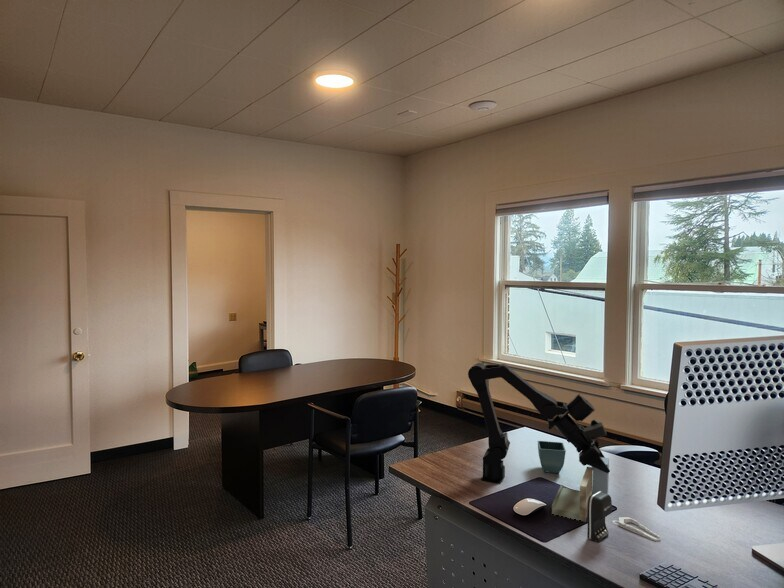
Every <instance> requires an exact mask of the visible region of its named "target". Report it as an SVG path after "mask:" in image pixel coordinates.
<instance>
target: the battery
mask: <svg viewBox="0 0 784 588" xmlns="http://www.w3.org/2000/svg"><path fill="white" fill-rule="evenodd" d="M612 505H613V504H612V497H611V495H610V494H609V493H608V494H606V493H603V492H601V491H597V492H595V493H593V492H592V495H590V496H589V498H588V515H587V539H589V540H592V541H595V542H600V541H602V540H604V539H605V538H607V537H608V536H609V530H608V528H607V524H606V517H608V516H610V515H611V514H612V511H613V510H612V509H613V507H612Z"/></svg>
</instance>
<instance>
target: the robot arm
mask: <svg viewBox="0 0 784 588" xmlns="http://www.w3.org/2000/svg"><path fill="white" fill-rule="evenodd" d="M467 376H468V379H469V381H470V383H471V386H472V387H473V389H474V390H475V392H476V393H477V398H478V400H479V404H480V407H481V411H482V416H483V419H484V422H485V427H486V430H487V434H488V435H487V437H488V439H487V440H488V442H487V443H488V448H487V449H486V450H485V451H484V455H483V456H482V476H481V478H480V480H481V481H485V482H491V483H496V484H501V483H502V481H503V480H504V479H505V478H506V477H505V476H506V475H505V474H506V467H505V465H504V459H505V458H506V457H507V454H508V452H509V449H510V445H511V442H510V440H509V437H508V432H507V431H506V432H503V431H502V429H501V427H500V424H499V420H498V417H497V413H496V410H495V406H494V402H493V398H492V396H491V392H490V382H489V381H490V380H492V379H497V378H501V379H503V380H504V381H505V382H507V383H508V384H509V385H510V386H511V387H513V388H514V389H515V390H516V391H518V392H519V393H520V394H522V395H523V396H524V397H525V398H527V400H529V401H530V403H532V405H533V407H534V409H536V411H538V413H539V414H540V415H542V417H543V418H546V419H547V423H548V429H549V430H552V428H554V427H555V428H556V429H557V430H558V431H559V432H560V433H561V434H562V435H563V436H564V438H565V439H566V441H567V442H568V444H571V445H572V446H574V447H575V448H576V452H577V453H578V462H579V463H581V465H582V466H588V467H594V468H597V469H599V470H601V471H603V472H606V473H610V472H611V470H610V467H609V468H608V467H607V466H606V464H605V463H604V461H603V460H602V459H601V457H604V458H606V457H605V455H604V454H603V452H602V450H601V449H600V446H599V439H598V438H602V437H607V435H608V434H607V430H606V428H605V426H604V424H603V422H601V421H598V420H596V419H593V420H590V425H588V426H586V427H584V426H583V425H581V424H578V423H577V422H579V421H580V422H583V421H584V420H585V419H586V418H588V417H589V416H590V415H592V414H593V412H595V411H596V409H595V406H594V405H592V403H591V402H590V401H589V400H588V399H586V398H585V397H584V396H582V395H581V394H580V393H578V394H576V396H575V397H574V398H572V400H570V401H569V402H565V401H558V400H557V399H555V398H554V397H552V396H551V395H548V394H547V393H546V392H543V391H541V390H539V389H536V388H535V387H534V386H533V385H532V384H531V383H529V382H528V381H527V380H525V379H524V378H523V377H521V376H520V375H519V374H518V373H516V371H514V370H513V369H512V368H510V366H509V365H508V364H505V363H502V364H483V363H480V362H477V363H475V364H473V366H471V367H470V368H469V370H468V372H467Z"/></svg>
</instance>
